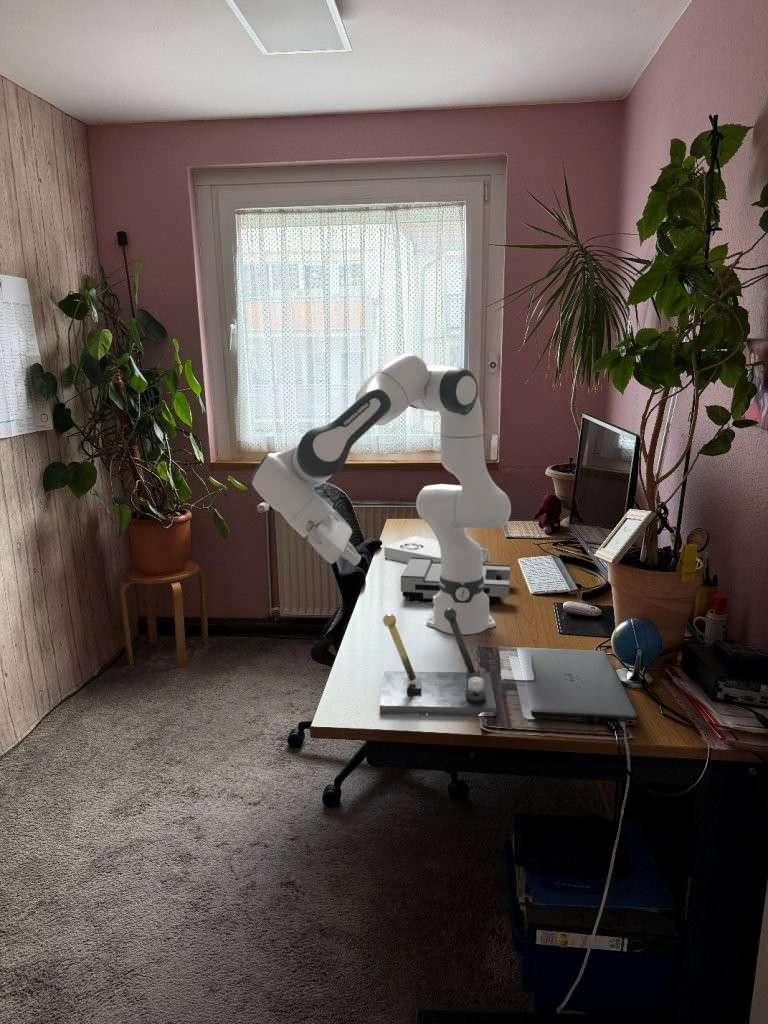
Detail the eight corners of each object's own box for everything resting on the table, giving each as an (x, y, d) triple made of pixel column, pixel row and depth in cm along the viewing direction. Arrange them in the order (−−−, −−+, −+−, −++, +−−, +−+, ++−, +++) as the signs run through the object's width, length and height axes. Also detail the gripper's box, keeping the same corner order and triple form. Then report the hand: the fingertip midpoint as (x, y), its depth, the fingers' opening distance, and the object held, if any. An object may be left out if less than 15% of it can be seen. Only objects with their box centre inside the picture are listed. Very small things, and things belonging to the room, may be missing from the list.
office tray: (508, 608, 203) (509, 582, 201) (400, 603, 209) (400, 577, 207) (509, 586, 223) (510, 561, 221) (411, 581, 229) (411, 557, 227)
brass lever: (406, 677, 152) (381, 614, 149) (418, 674, 151) (393, 610, 148) (406, 683, 149) (380, 619, 146) (418, 679, 149) (393, 615, 146)
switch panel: (384, 679, 159) (384, 666, 158) (489, 681, 158) (489, 668, 157) (379, 714, 144) (379, 700, 143) (496, 716, 142) (496, 702, 141)
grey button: (467, 684, 147) (467, 676, 147) (482, 684, 147) (482, 676, 146) (468, 691, 144) (468, 683, 143) (483, 691, 144) (484, 683, 143)
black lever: (465, 670, 155) (441, 608, 152) (477, 667, 154) (453, 604, 151) (466, 676, 152) (442, 613, 149) (478, 672, 152) (454, 608, 149)
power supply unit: (461, 576, 234) (461, 562, 233) (384, 559, 254) (383, 546, 253) (488, 562, 249) (488, 549, 248) (413, 548, 268) (413, 535, 267)
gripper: (314, 518, 137) (364, 566, 139) (329, 498, 157) (372, 540, 159) (293, 539, 139) (342, 586, 140) (310, 517, 159) (353, 558, 160)
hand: (358, 561), depth 150 cm, fingers closed
